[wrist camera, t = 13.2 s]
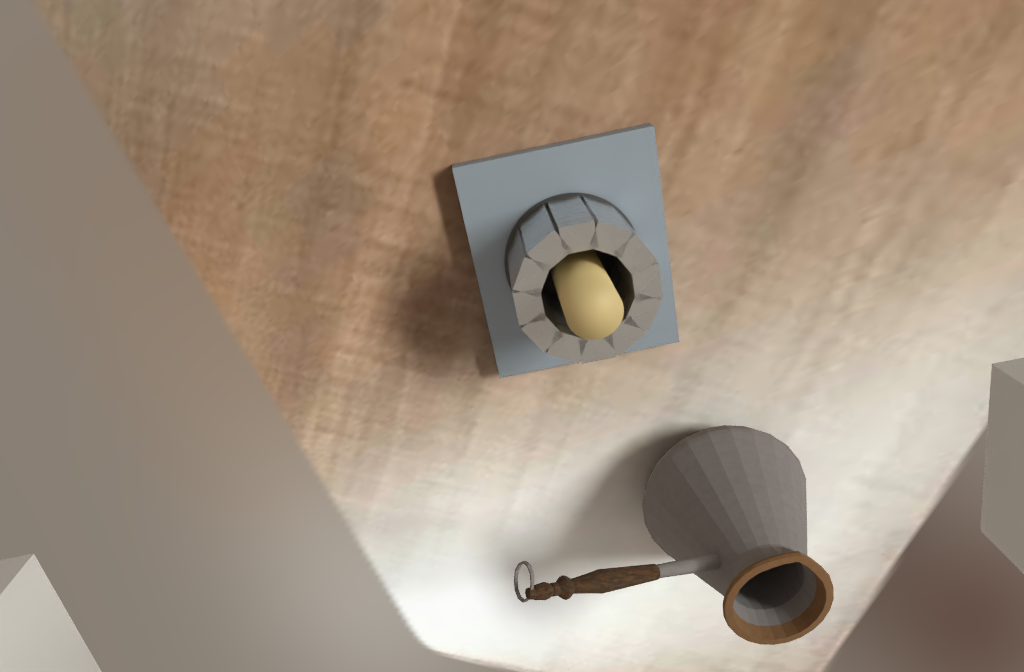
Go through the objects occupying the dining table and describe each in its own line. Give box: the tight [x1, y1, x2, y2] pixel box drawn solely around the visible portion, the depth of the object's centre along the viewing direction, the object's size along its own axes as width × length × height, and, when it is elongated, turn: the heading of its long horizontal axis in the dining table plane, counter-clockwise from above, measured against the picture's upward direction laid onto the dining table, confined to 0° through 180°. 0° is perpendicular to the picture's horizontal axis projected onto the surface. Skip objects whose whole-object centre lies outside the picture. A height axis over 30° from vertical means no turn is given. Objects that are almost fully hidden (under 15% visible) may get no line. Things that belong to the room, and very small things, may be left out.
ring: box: [507, 195, 663, 364], centre depth 43 cm, size 8×8×6 cm
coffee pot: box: [514, 425, 833, 645], centre depth 47 cm, size 21×12×15 cm, turn 78°
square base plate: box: [452, 123, 679, 378], centre depth 42 cm, size 14×12×10 cm
